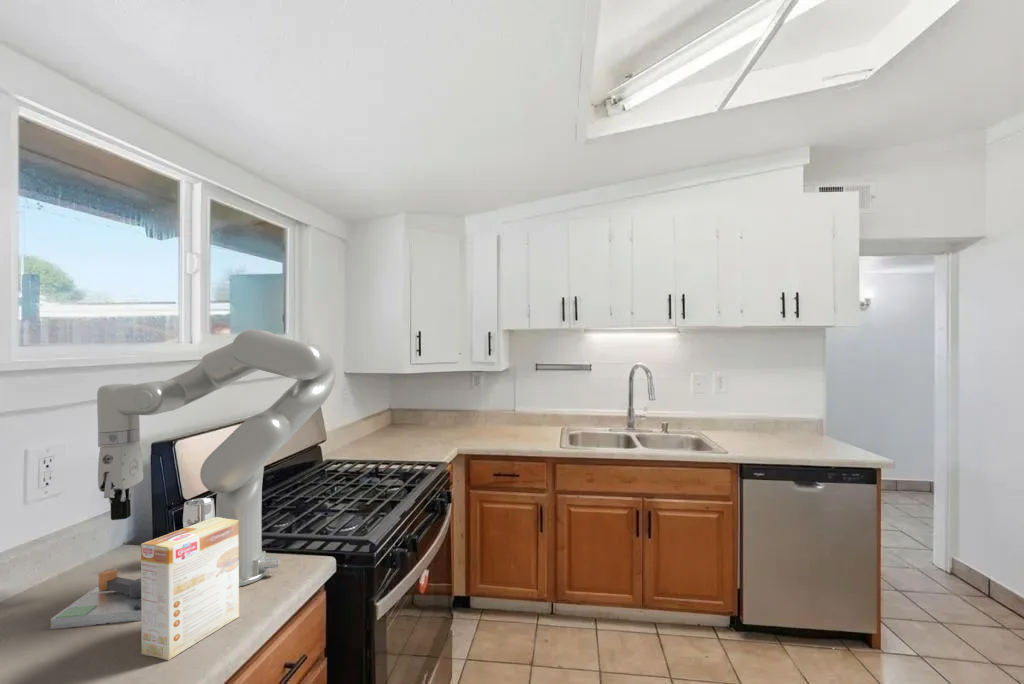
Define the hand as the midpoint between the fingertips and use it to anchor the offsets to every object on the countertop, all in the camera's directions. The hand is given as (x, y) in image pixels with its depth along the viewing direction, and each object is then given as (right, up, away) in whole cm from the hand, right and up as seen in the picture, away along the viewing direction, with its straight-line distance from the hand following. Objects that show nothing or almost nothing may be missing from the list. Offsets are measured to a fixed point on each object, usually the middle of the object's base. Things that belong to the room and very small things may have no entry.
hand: (120, 518), depth 113 cm
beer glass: (+9, -16, +15) cm, 23 cm away
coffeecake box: (+29, -15, -20) cm, 39 cm away
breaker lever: (+6, -13, -7) cm, 16 cm away
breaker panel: (+7, -15, -9) cm, 19 cm away
